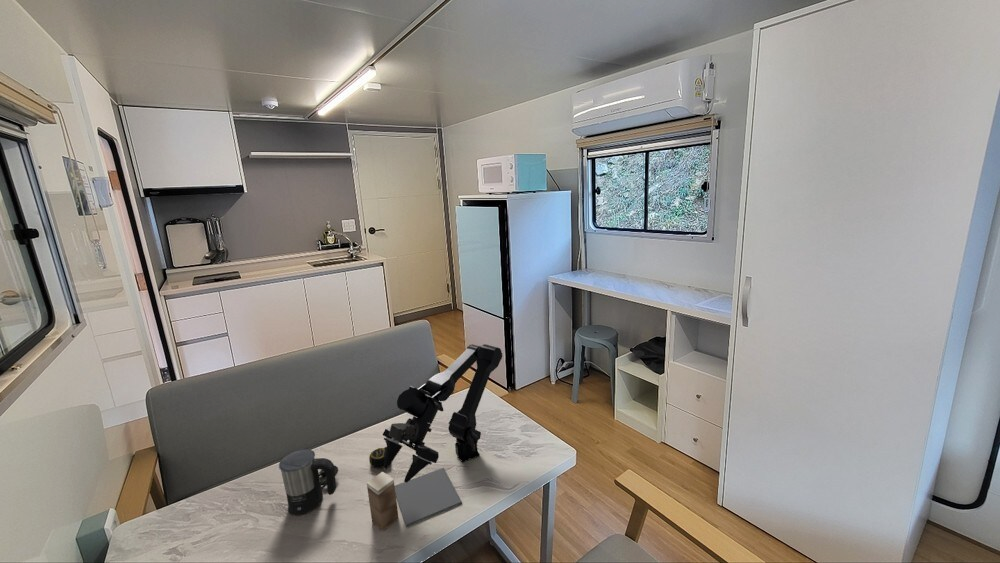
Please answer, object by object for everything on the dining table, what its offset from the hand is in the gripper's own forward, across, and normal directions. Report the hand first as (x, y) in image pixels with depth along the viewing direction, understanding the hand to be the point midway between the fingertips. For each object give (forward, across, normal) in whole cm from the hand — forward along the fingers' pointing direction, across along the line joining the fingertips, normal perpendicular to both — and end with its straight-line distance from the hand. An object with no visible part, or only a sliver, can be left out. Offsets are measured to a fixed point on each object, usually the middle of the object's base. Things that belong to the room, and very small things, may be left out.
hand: (394, 475), depth 105 cm
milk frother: (+16, -26, 0) cm, 31 cm away
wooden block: (+11, 0, +5) cm, 12 cm away
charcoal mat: (+2, +3, +14) cm, 14 cm away
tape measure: (+1, -21, +15) cm, 26 cm away
